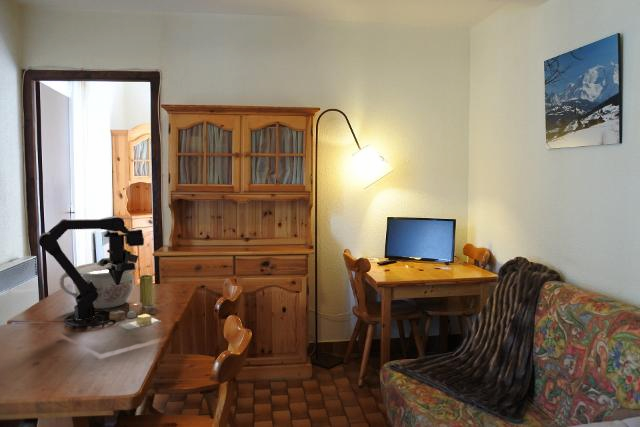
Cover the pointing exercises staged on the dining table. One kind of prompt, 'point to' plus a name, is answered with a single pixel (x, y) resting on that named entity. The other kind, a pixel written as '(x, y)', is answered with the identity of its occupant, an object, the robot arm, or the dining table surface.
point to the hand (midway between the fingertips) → (117, 284)
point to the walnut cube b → (149, 309)
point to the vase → (146, 290)
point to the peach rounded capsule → (136, 307)
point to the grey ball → (131, 314)
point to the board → (137, 324)
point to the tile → (143, 319)
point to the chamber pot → (104, 285)
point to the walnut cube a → (117, 315)
